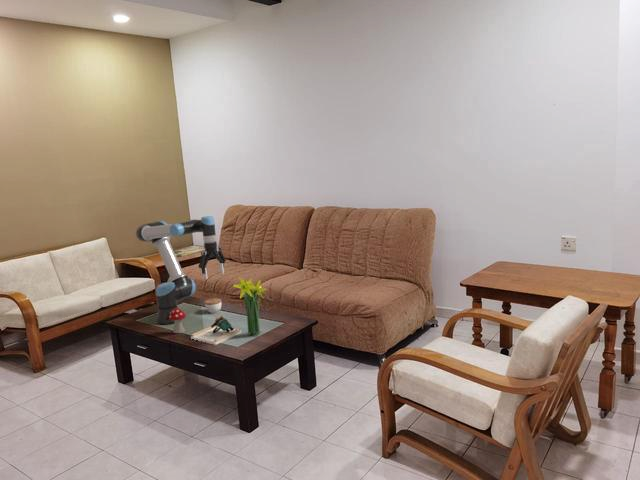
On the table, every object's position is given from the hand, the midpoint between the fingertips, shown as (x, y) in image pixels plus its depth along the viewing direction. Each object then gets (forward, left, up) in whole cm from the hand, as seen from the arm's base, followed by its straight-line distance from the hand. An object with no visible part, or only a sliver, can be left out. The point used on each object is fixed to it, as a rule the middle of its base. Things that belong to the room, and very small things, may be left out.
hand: (213, 276), depth 311 cm
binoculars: (+19, -19, -28) cm, 38 cm away
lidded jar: (-17, +12, -29) cm, 36 cm away
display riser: (+19, -20, -29) cm, 40 cm away
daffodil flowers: (+38, -8, -29) cm, 48 cm away
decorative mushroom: (-6, -26, -29) cm, 39 cm away
